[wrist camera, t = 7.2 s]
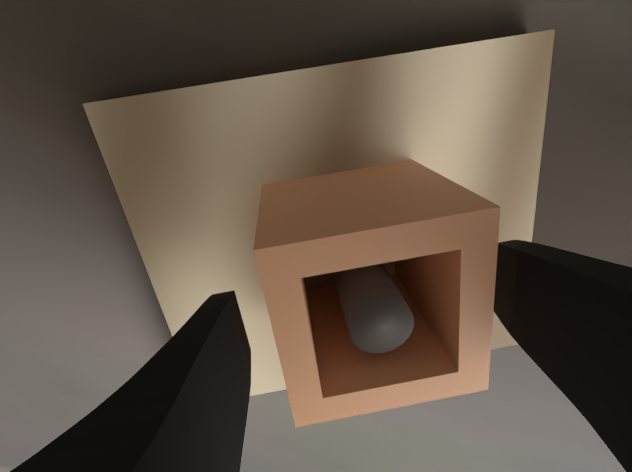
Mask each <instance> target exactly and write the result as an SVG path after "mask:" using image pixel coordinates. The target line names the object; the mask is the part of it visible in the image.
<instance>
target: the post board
mask: <svg viewBox="0 0 632 472" xmlns="http://www.w3.org/2000/svg"><path fill="white" fill-rule="evenodd" d="M554 35H555V29H553V30H547V31H540V32H534V33H528V34H521V35H515V36H509V37H502V38H496V39H490V40H483V41H477V42H471V43H464V44H458V45H452V46H445V47H439V48H433V49H426V50H420V51H414V52H407V53H401V54H395V55H388V56H382V57H375V58H369V59H363V60H356V61H350V62H344V63H337V64H331V65H325V66H318V67H312V68H306V69H299V70H293V71H287V72H280V73H274V74H268V75H261V76H255V77H249V78H242V79H236V80H230V81H223V82H217V83H211V84H204V85H198V86H192V87H185V88H179V89H173V90H166V91H160V92H154V93H147V94H141V95H135V96H128V97H122V98H116V99H109V100H103V101H97V102H90V103H84V104H83V107H84V109H85V112H86V115H87V117H88V120H89V122H90V125H91V128H92V130H93V133H94V135H95V138H96V140H97V143H98V146H99V148H100V151H101V153H102V156H103V159H104V161H105V164H106V166H107V169H108V172H109V174H110V177H111V179H112V182H113V184H114V187H115V190H116V192H117V195H118V197H119V200H120V203H121V205H122V208H123V210H124V213H125V215H126V218H127V221H128V223H129V226H130V228H131V231H132V234H133V236H134V239H135V241H136V244H137V247H138V249H139V252H140V254H141V257H142V259H143V262H144V265H145V267H146V270H147V272H148V275H149V278H150V280H151V283H152V285H153V288H154V291H155V293H156V296H157V298H158V301H159V303H160V306H161V309H162V311H163V314H164V316H165V319H166V322H167V324H168V327H169V329H170V332H171V334H172V337H173V336H174V335H175V334H176V332H177V331H178V330H179V329H180V328H181V327H182V326H183V325H184V324H185V323H186V322H187V321H188V319H189V318H190V317H191V316H192V315H193V314H194V313H195V312H196V311H197V309H198V308H199V307H200V306H201V305H202V304H203V303H204V302H205V301H206V300H207V299H208V298H209V297H210V296H211V295H212V294H217V293H223V292H228V291H235V295H236V298H237V302H238V305H239V309H240V312H241V316H242V320H243V323H244V327H245V330H246V334H247V337H248V341H249V345H250V348H251V388H250V396H253V395H258V394H263V393H269V392H274V391H279V390H284V389H286V385H285V380H284V376H283V372H282V368H281V364H280V360H279V355H278V351H277V347H276V343H275V339H274V335H273V331H272V326H271V322H270V318H269V314H268V310H267V306H266V301H265V297H264V293H263V289H262V285H261V281H260V277H259V272H258V268H257V264H256V260H255V256H254V252H253V248H254V241H255V234H256V226H257V219H258V212H259V205H260V197H261V190H262V185H265V184H271V183H277V182H283V181H289V180H295V179H301V178H307V177H312V176H318V175H324V174H330V173H336V172H342V171H348V170H354V169H360V168H366V167H372V166H378V165H383V164H389V163H395V162H401V161H407V160H414V161H416V162H418V163H420V164H421V165H423V166H425V167H427V168H429V169H431V170H433V171H435V172H436V173H438V174H440V175H442V176H444V177H446V178H448V179H450V180H451V181H453V182H455V183H457V184H459V185H461V186H463V187H465V188H466V189H468V190H470V191H472V192H474V193H476V194H478V195H480V196H481V197H483V198H485V199H487V200H489V201H491V202H493V203H495V204H497V205H498V206H500V207H501V209H500V223H499V238H498V243H499V242H505V241H510V240H522V241H528V242H532V234H533V225H534V216H535V207H536V198H537V189H538V180H539V171H540V162H541V153H542V144H543V134H544V125H545V116H546V107H547V98H548V89H549V80H550V71H551V62H552V53H553V44H554ZM392 274H395V261H393V262H388V263H382V264H377V265H371V266H365V267H360V268H354V269H349V270H343V271H338V272H332V273H327V274H321V275H316V276H310V277H304V279H305V285H306V290H309V289H315V288H320V287H326V286H331V285H335V287H336V290H337V294H338V297H339V301H340V304H341V307H342V311H343V314H344V317H345V321H346V324H347V327H348V331H349V334H350V337H351V340H352V341H353V343H354V344H355V345H356V346H357V347H358V348H360V349H361V350H363V351H366V352H369V353H385V352H389V351H391V350H394V349H396V348H398V347H399V346H401V345H402V344H403V343H404V342H405V341H406V340H407V339H408V338H409V336H410V335H411V333H412V330H413V327H414V317H413V314H412V312H411V310H410V308H409V307H408V305H407V303H406V302H405V300H404V299H403V297H402V295H401V294H400V292H399V290H398V289H397V287H396V285H395V284H394V282H393V280H392V279H391V277H390V275H392ZM517 344H518V343H517V342H516V341H515V340H514V339H513V337H512V336H511V335H510V334H509V332H508V331H507V330H506V328H505V327H504V326H503V324H502V323H501V321H500V320H499V318H498V317H497V315H496V314H495V312H494V311H493V325H492V339H491V349H496V348H502V347H507V346H512V345H517Z"/></svg>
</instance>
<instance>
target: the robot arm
mask: <svg viewBox="0 0 632 472" xmlns="http://www.w3.org/2000/svg"><path fill="white" fill-rule="evenodd" d="M493 311H494V312H495V314H496V315H497V317H498V318H499V320H500V321H501V323H502V324H503V326H504V327H505V328H506V330H507V331H508V332H509V334H510V335H511V336H512V337H513V339H514V340H515V341H516V342H517V343H518V344H519V345H520V346H521V348H522V349H523V350H524V351H525V352H526V353H527V354H528V355H529V356H530V358H531V359H532V360H533V361H534V362H535V363H536V364H537V365H538V366H539V367H540V368H541V370H542V371H543V372H544V373H545V374H546V375H547V376H548V377H549V378H550V379H551V380H552V381H553V383H554V384H555V385H556V386H557V387H558V388H559V389H560V390H561V391H562V392H563V393H564V394H565V396H566V397H567V398H568V399H569V400H570V401H571V402H572V403H573V404H574V405H575V407H576V408H577V409H578V410H579V411H580V412H581V414H582V415H583V416H584V417H585V418H586V419H587V421H588V422H589V423H590V424H591V426H592V427H593V428H594V430H595V431H596V432H597V434H598V435H599V436H600V437H601V439H602V440H603V441H604V443H605V444H606V445H607V447H608V448H609V449H610V451H611V452H612V453H613V454H614V456H615V457H616V458H617V460H618V461H619V462H620V464H621V465H622V466H623V468H624V469H625V471H626V472H632V268H631V267H627V266H623V265H619V264H615V263H611V262H607V261H603V260H599V259H596V258H592V257H588V256H584V255H580V254H577V253H573V252H569V251H565V250H561V249H557V248H554V247H550V246H546V245H541V244H537V243H532V242H528V241H522V240H510V241H505V242H499V243H498V252H497V267H496V281H495V296H494V310H493ZM250 388H251V348H250V345H249V341H248V337H247V334H246V330H245V327H244V323H243V320H242V316H241V312H240V309H239V305H238V302H237V298H236V295H235V291H228V292H223V293H217V294H212V295H211V296H210V297H209V298H208V299H207V300H206V301H205V302H204V303H203V304H202V305H201V306H200V307H199V308H198V309H197V311H196V312H195V313H194V314H193V315H192V316H191V317H190V318H189V319H188V321H187V322H186V323H185V324H184V325H183V326H182V327H181V328H180V329H179V330H178V331H177V332H176V334H175V335H174V336H173V337H172V338H171V339H170V340H169V341H168V342H167V343H166V344H165V345H164V346H163V347H162V348H161V349H160V350H159V351H158V352H157V353H156V354H155V355H154V356H153V357H152V358H151V359H150V360H149V361H148V362H147V363H146V364H145V365H144V366H143V367H142V368H141V369H140V370H139V371H138V372H137V373H136V374H135V375H134V376H133V377H131V378H130V379H129V380H128V381H127V382H126V383H125V384H124V385H123V386H121V387H120V388H119V389H118V390H117V391H116V392H115V393H113V394H112V395H111V396H110V397H109V398H107V399H106V400H105V401H104V402H103V403H101V404H100V405H99V406H98V407H97V408H96V409H94V410H93V411H92V412H91V413H89V414H88V415H87V416H86V417H84V418H83V419H82V420H80V421H79V422H78V423H76V424H75V425H74V426H72V427H71V428H70V429H68V430H67V431H66V432H64V433H63V434H62V435H60V436H59V437H58V438H56V439H55V440H54V441H52V442H51V443H50V444H48V445H47V446H46V447H44V448H43V449H42V450H40V451H39V452H38V453H36V454H35V455H33V456H32V457H31V458H29V459H28V460H26V461H25V462H23V463H22V464H21V465H19V466H18V467H16V468H15V469H13V470H12V471H10V472H239V471H240V463H241V456H242V448H243V441H244V434H245V426H246V419H247V411H248V403H249V396H250Z"/></svg>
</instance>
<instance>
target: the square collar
mask: <svg viewBox="0 0 632 472" xmlns="http://www.w3.org/2000/svg"><path fill="white" fill-rule="evenodd" d="M500 209H501V207H500V206H498V205H497V204H495V203H493V202H491V201H489V200H487V199H485V198H483V197H481V196H480V195H478V194H476V193H474V192H472V191H470V190H468V189H466V188H465V187H463V186H461V185H459V184H457V183H455V182H453V181H451V180H450V179H448V178H446V177H444V176H442V175H440V174H438V173H436V172H435V171H433V170H431V169H429V168H427V167H425V166H423V165H421V164H420V163H418V162H416V161H414V160H407V161H401V162H395V163H389V164H383V165H378V166H372V167H366V168H360V169H354V170H348V171H342V172H336V173H330V174H324V175H318V176H312V177H307V178H301V179H295V180H289V181H283V182H277V183H271V184H265V185H262V190H261V197H260V205H259V212H258V219H257V226H256V234H255V241H254V248H253V252H254V256H255V260H256V264H257V268H258V272H259V277H260V281H261V285H262V289H263V293H264V297H265V301H266V306H267V310H268V314H269V318H270V322H271V326H272V331H273V335H274V339H275V343H276V347H277V351H278V355H279V360H280V364H281V368H282V372H283V376H284V380H285V385H286V389H287V393H288V397H289V401H290V405H291V409H292V414H293V418H294V422H295V426H296V427H301V426H306V425H311V424H316V423H321V422H326V421H331V420H336V419H341V418H347V417H352V416H357V415H362V414H367V413H372V412H377V411H382V410H387V409H392V408H397V407H402V406H407V405H413V404H418V403H423V402H428V401H433V400H438V399H443V398H448V397H453V396H458V395H463V394H468V393H473V392H479V391H484V390H488V383H489V368H490V354H491V339H492V325H493V310H494V296H495V281H496V267H497V252H498V238H499V223H500ZM393 261H395V274H392V275H390V277H391V279H392V280H393V282H394V284H395V285H396V287H397V289H398V290H399V292H400V294H401V295H402V297H403V299H404V300H405V302H406V303H407V305H408V307H409V308H410V310H411V312H412V314H413V317H414V327H413V330H412V333H411V335H410V336H409V338H408V339H407V340H406V341H405V342H404V343H403V344H402V345H401V346H399V347H398V348H396V349H394V350H391V351H389V352H385V353H369V352H366V351H363V350H361V349H360V348H358V347H357V346H356V345H355V344H354V343H353V341H352V340H351V337H350V334H349V331H348V327H347V324H346V321H345V317H344V314H343V311H342V307H341V304H340V301H339V297H338V294H337V290H336V287H335V285H331V286H326V287H320V288H315V289H309V290H306V285H305V279H304V277H310V276H316V275H321V274H327V273H332V272H338V271H343V270H349V269H354V268H360V267H365V266H371V265H377V264H382V263H388V262H393Z"/></svg>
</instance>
